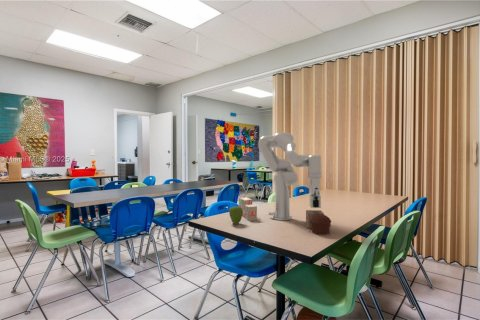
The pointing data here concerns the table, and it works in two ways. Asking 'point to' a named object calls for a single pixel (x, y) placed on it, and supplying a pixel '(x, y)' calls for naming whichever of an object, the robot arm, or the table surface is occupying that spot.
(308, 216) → the riser box
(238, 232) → the table surface
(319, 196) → the sage block
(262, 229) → the table surface
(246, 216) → the stack of blocks
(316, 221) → the muffin
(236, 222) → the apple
